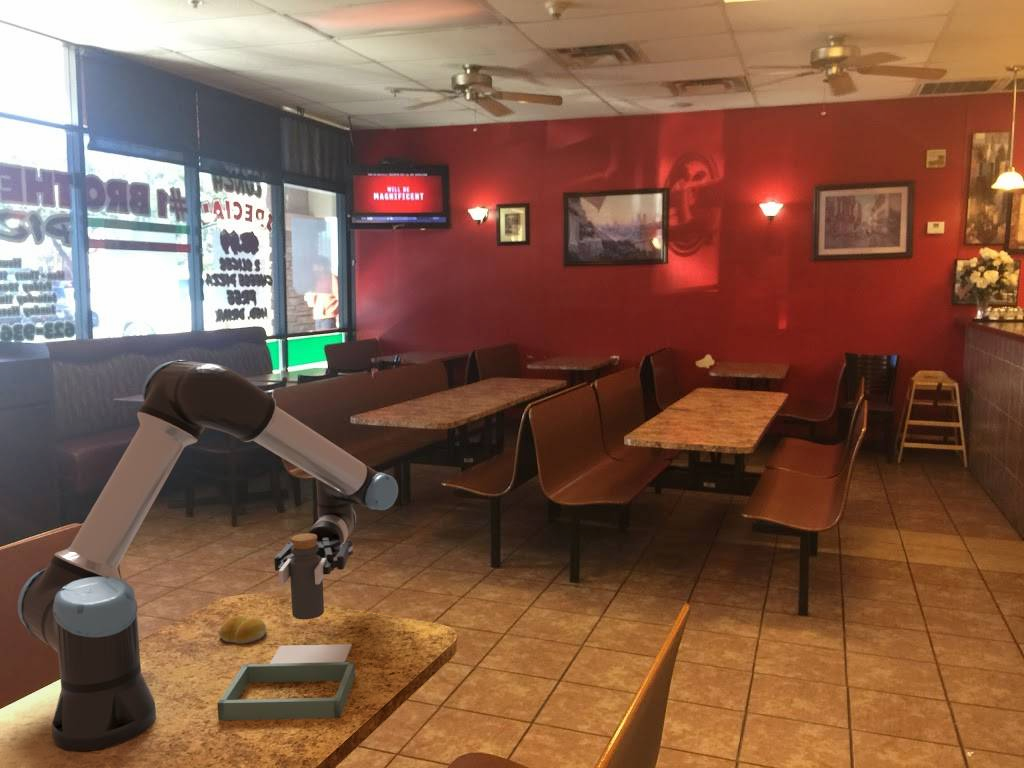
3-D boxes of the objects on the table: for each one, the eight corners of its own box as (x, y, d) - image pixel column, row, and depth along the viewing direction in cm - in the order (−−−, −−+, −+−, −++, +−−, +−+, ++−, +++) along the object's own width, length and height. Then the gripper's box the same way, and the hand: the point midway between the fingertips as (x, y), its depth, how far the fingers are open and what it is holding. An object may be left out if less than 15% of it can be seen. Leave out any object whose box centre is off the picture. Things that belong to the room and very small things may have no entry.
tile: (266, 671, 154) (265, 669, 154) (280, 648, 164) (280, 645, 164) (341, 670, 154) (341, 667, 154) (351, 646, 164) (351, 644, 164)
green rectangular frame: (218, 720, 137) (217, 703, 136) (244, 679, 151) (243, 664, 150) (340, 717, 137) (339, 700, 137) (355, 677, 151) (354, 661, 151)
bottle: (316, 620, 154) (312, 542, 152) (286, 618, 155) (282, 540, 153) (329, 608, 160) (325, 532, 158) (301, 606, 161) (296, 531, 159)
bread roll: (252, 647, 165) (251, 627, 164) (213, 642, 167) (212, 623, 167) (274, 630, 173) (273, 611, 172) (237, 626, 175) (236, 607, 175)
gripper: (372, 554, 175) (351, 596, 152) (282, 556, 175) (248, 598, 152) (370, 519, 174) (349, 556, 151) (280, 521, 174) (245, 558, 151)
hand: (299, 577), depth 151 cm, fingers closed on bottle, 6 cm apart
